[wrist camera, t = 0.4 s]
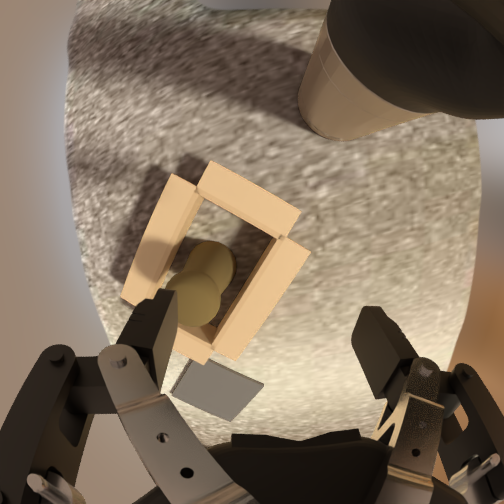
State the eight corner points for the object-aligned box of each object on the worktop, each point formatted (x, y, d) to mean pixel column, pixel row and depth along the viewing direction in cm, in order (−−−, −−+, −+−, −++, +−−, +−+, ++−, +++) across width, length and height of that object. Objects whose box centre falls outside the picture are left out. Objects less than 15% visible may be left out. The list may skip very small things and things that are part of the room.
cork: (229, 294, 34) (212, 345, 23) (183, 279, 34) (149, 323, 23) (243, 249, 32) (230, 287, 22) (194, 234, 32) (159, 264, 22)
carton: (195, 149, 29) (185, 147, 25) (319, 220, 31) (326, 227, 27) (127, 300, 35) (114, 314, 32) (228, 357, 37) (224, 375, 33)
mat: (197, 352, 37) (196, 354, 36) (264, 384, 38) (263, 386, 37) (172, 393, 40) (171, 395, 39) (230, 419, 41) (230, 421, 40)
